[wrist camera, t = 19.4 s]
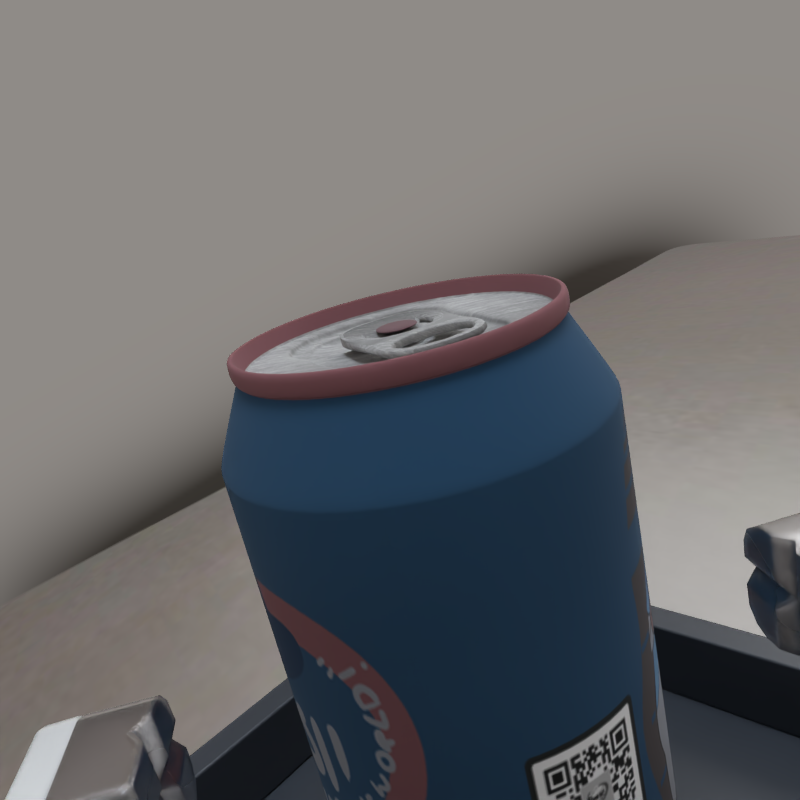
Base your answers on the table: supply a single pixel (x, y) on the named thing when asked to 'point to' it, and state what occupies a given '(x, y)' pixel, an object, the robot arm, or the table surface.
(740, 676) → the tray
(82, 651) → the table surface
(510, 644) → the soda can
